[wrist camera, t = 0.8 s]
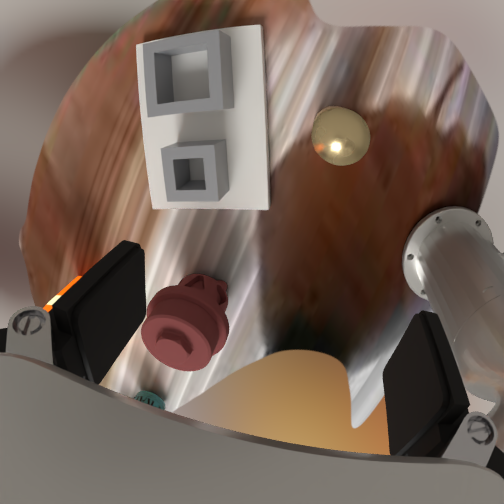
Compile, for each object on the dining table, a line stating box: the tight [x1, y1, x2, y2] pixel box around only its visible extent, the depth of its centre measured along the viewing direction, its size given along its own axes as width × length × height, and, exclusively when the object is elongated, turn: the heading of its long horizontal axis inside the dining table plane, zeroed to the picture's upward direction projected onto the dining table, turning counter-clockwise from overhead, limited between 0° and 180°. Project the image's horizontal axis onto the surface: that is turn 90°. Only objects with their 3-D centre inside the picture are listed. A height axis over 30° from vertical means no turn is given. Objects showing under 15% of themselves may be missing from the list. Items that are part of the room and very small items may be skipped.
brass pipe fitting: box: [312, 106, 370, 165], centre depth 27 cm, size 4×4×10 cm
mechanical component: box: [141, 274, 229, 371], centre depth 38 cm, size 12×10×10 cm
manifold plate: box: [136, 25, 271, 210], centre depth 31 cm, size 14×20×6 cm
